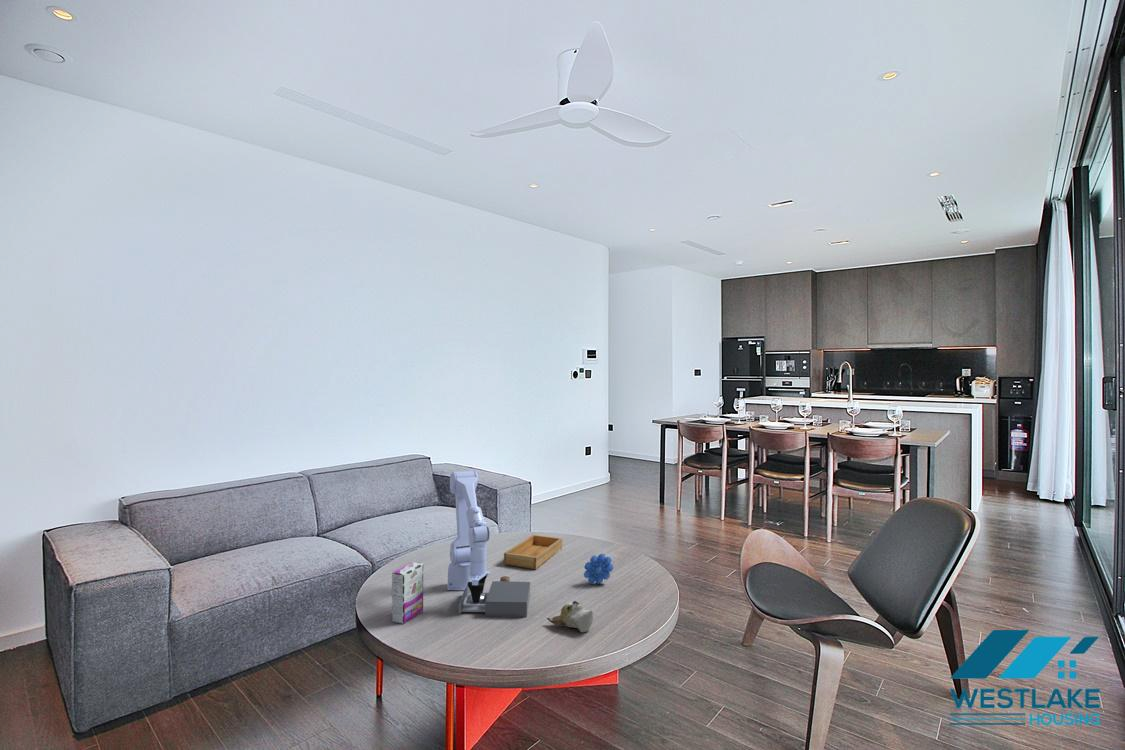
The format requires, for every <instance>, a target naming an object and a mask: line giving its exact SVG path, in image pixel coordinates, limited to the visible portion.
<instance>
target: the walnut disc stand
mask: <svg viewBox="0 0 1125 750" xmlns="http://www.w3.org/2000/svg"><path fill="white" fill-rule="evenodd" d="M499 579H500V580H499V581H509V582H511V578H510V577H509V576H507V575H504V576H501V577H500V578H499Z"/></svg>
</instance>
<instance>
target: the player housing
mask: <svg viewBox="0 0 1125 750" xmlns="http://www.w3.org/2000/svg"><path fill="white" fill-rule="evenodd" d="M487 593H488V596H487V599H486V605H485V612H484V615H485V617H499V618H500V617H504V618H506V617H507V618H509V617H510V618H512V617H514V618H527V616H528V613H529V612H528V610H529V604H530V598H531V581H510V582H509V581H500V580H499V581H498V580H494V581H493V580H492V581H491V584H490V587H489V591H488V592H487Z"/></svg>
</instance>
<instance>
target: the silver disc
mask: <svg viewBox="0 0 1125 750" xmlns="http://www.w3.org/2000/svg"><path fill="white" fill-rule="evenodd" d="M484 593H485V592H483V593H481V596H480V601H479V603H473V601H472V596H471V595H470V602H471V603H473V604H481V603H484V602H485V601H486V595H485V594H484Z"/></svg>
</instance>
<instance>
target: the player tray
mask: <svg viewBox="0 0 1125 750" xmlns="http://www.w3.org/2000/svg"><path fill="white" fill-rule="evenodd" d="M483 593H484V594H485V595H486V599H487V596H488V593H489V592H483ZM470 595H471V592H470V589H469V587H468V584H467V586H466V588H465V590H463V593H462V595H461V597H460V600H459V602H458V611H457V612H458V614H462V612H463V613H465V612H466V613H485V605H486V601H485V602H484V603H481V604H473V603H471V602H470Z"/></svg>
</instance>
